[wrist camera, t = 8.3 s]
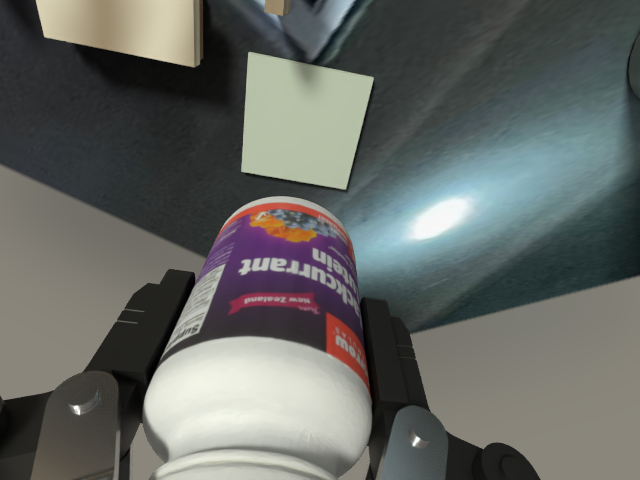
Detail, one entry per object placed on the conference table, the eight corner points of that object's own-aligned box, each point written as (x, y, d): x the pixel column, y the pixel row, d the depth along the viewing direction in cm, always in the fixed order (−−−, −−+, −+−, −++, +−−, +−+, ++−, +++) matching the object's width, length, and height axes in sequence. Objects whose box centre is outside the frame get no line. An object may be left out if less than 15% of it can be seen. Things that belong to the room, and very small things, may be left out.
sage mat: (373, 77, 25) (373, 78, 25) (345, 187, 30) (345, 189, 30) (249, 51, 24) (248, 52, 24) (242, 169, 30) (241, 171, 29)
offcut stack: (210, -8, 23) (193, -9, 20) (209, 59, 25) (194, 67, 22) (51, -44, 22) (9, -50, 19) (66, 29, 24) (30, 34, 21)
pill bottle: (381, 235, 13) (467, 583, 5) (308, 316, 16) (293, 633, 8) (255, 163, 12) (111, 511, 4) (197, 267, 14) (38, 602, 6)
